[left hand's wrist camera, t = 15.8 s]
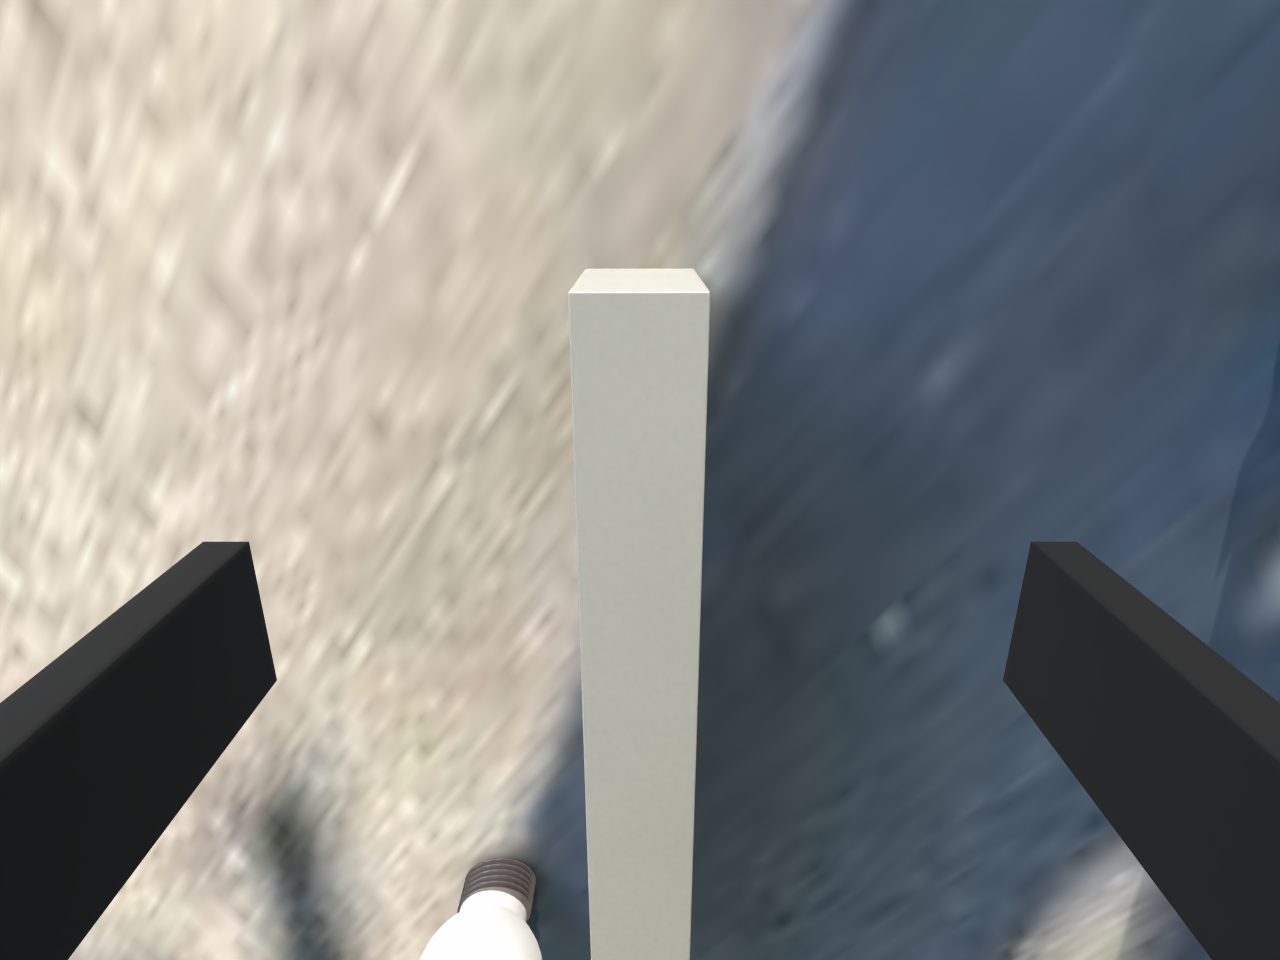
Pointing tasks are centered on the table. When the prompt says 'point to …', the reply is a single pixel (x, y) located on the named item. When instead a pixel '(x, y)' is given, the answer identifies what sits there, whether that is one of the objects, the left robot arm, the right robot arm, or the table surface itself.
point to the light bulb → (490, 916)
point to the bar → (639, 594)
